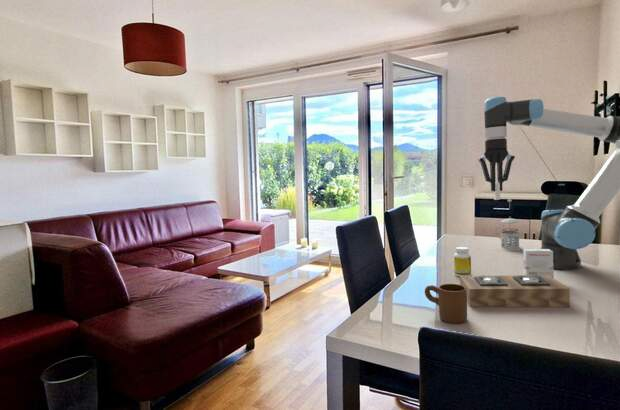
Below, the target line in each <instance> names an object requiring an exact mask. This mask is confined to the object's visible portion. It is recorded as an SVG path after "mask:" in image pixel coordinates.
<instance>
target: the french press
mask: <svg viewBox="0 0 620 410" xmlns="http://www.w3.org/2000/svg"><path fill="white" fill-rule="evenodd" d="M512 201H513V200H512V199H511V198H508V199H507V202H509V206H508V207H509V208H511V202H512ZM500 222H501V224H499V225H498V226H497V227H496V229H495V235H496V237H497V238H498V239H500V241H501V246H499V249H500V250H502V251H507V252H509V251H511V252H512V251H513V252H515V251H521V250H522V248H521V247H520V232H519V229H518V228H512V227H508V228H507V227H506V228H504V224H509V225H511V224H519V223H520V221H519V220H518V219H515V218H512V217H509V218H505V219H502V220H500ZM500 228H502V229H501V230H502V231H501V233H500V234H501V237H500V236H499V234H498V233H499V229H500Z"/></svg>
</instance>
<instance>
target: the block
mask: <svg viewBox="0 0 620 410" xmlns="http://www.w3.org/2000/svg"><path fill="white" fill-rule="evenodd" d="M484 277H494V278H497V279H498V283H484V282H483V278H484ZM523 277H536V278H538V279H539V282H524V281H523ZM459 285H462V286H464V287H465V288H466V294H467V302H468V303H467V305H468V304H469V305H470V306H496V307H497V306H498V307H499V306H500V307H501V308H502V307H503V308H506V307H507V308H509V307H513V308H517V307H518V308H520V307H521V308H530V307H531V308H536V307H537V308H570V300H571V299H570V296H571V295H570V288H569V287H567V286H566V285H565V284H563V283H561V282H560V281H559V280H557V279H555V277H554V278H552V277H551V276H549V275H524V274H522V275H471V276H460V277H459ZM469 305H468V306H469ZM470 306H469V307H470ZM498 307H497V308H498ZM500 307H499V308H500Z"/></svg>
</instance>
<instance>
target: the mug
mask: <svg viewBox="0 0 620 410" xmlns="http://www.w3.org/2000/svg"><path fill="white" fill-rule="evenodd" d="M431 291H432V292H434V293H436V294H437V295H438V297H437V296H434V295H432V293H431ZM424 295H425V297H426V299H427V300H428V301H430V302H431V303H435V304H436V305H437V306H438V315H439V319H440V320H441V321H442V322H445V323H448V324H454V325H456V324H458V325H459V324H460V325H461V324H463V323H465V322H466V321H467V320H468V303H467V294H466V288H465V287H464V286H462V285H460V284H458V283H457V284H456V283H444V284H441V285H440V284H439V286H438V287H437V286H435V285H433V284H432V285H431V284H429V285H427V286H426V287H425V289H424Z"/></svg>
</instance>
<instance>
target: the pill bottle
mask: <svg viewBox="0 0 620 410" xmlns="http://www.w3.org/2000/svg"><path fill="white" fill-rule="evenodd" d="M471 256H472V255H471V253H469V247H466V246H457V247H456V248H455V253H454V254H453V264H454V265H453V268H454V275H455V276H456V277H459V278H460V276H472V257H471Z"/></svg>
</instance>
